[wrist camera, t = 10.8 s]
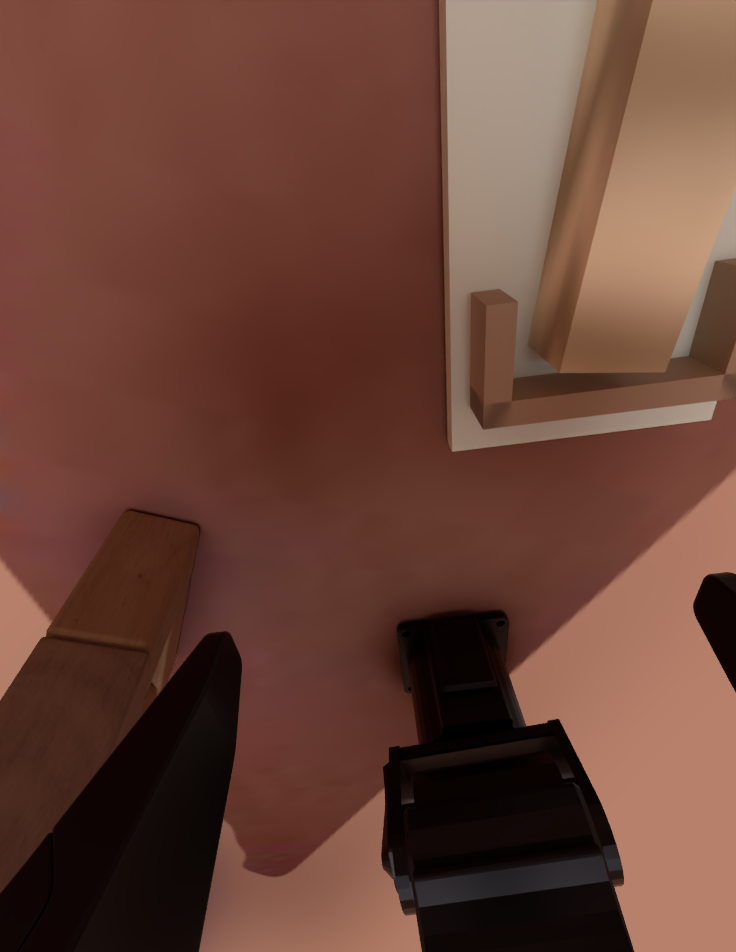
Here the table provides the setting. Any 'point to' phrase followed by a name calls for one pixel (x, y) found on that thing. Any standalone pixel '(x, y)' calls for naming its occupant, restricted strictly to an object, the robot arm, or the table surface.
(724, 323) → the slat board
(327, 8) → the table surface
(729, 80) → the slat
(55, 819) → the wooden block
